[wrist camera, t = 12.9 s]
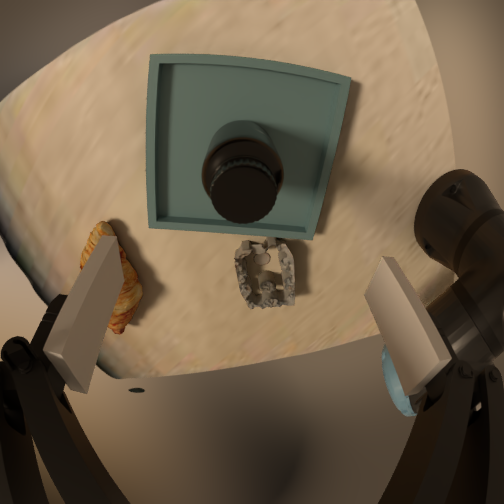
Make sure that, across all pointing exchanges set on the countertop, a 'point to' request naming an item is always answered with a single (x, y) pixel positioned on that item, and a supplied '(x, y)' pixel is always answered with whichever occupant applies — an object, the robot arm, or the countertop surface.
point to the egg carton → (266, 275)
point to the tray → (232, 109)
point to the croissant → (131, 285)
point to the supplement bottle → (242, 172)
